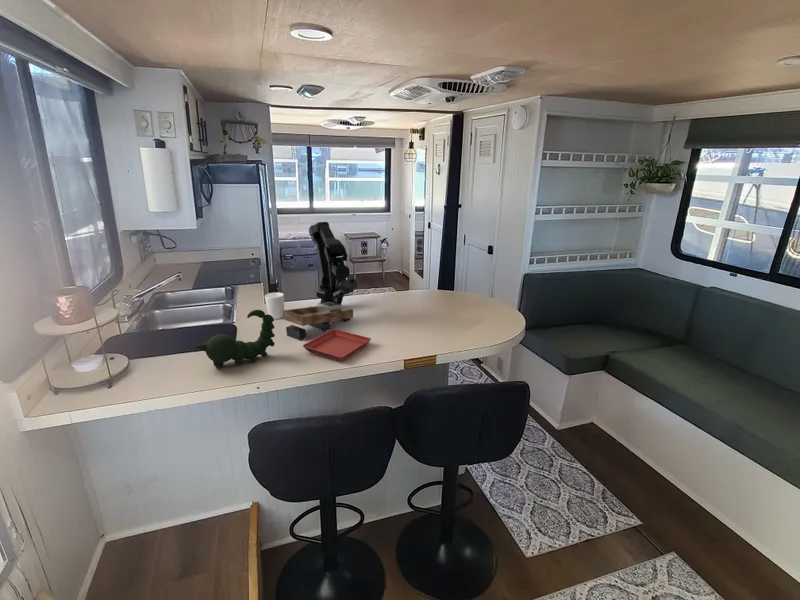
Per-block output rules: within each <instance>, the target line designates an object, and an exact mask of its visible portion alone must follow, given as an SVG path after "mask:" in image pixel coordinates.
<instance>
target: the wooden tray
mask: <svg viewBox="0 0 800 600" xmlns="http://www.w3.org/2000/svg"><path fill="white" fill-rule="evenodd" d="M317 307H318V305H317V306H316V305H315V306H307V307H299V308H293V309H292V308H291V309H284V310H283V318H282V320H284V321H286V322H290V323H292V324H295V325H299V326H302V327H304V326H309V325H311V324H317V323H323V322H327V323H332V322H335V321H340V320H342V319H348V318H350V319H354V309H353V308H351V309H344V310H342V309H341V311H335V312H327V313H317Z"/></svg>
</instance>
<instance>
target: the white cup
mask: <svg viewBox="0 0 800 600" xmlns="http://www.w3.org/2000/svg"><path fill="white" fill-rule="evenodd" d="M264 300H265V307H266V311H267V314H269V315H271V316H272V317H273V318H274V320H280V319H283V310H285V295H284V293H282V292H269V293H266V294H265V295H264Z"/></svg>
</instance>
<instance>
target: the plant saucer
mask: <svg viewBox="0 0 800 600" xmlns="http://www.w3.org/2000/svg"><path fill="white" fill-rule="evenodd" d="M371 340H372V338H370V337H367V336H363V335H360V334H356V333H352V332H347V331H343V330H341V329H340V330H339V329H335V328H333V329H330V330H328V331H326V332H325V333H323V334H322V335H319V336H318V337H315V338H314V339H312V340H310V341H308V342H306V343H304V344H303V345H302V347H303V348H304V349H305V350H306V351H308V352H309V353H310V352H311V354H313V353H314V354H315V355H317V354H318V356H320V355H321V356H320V357H324V356H325V358H327V357H328V359H331V360H334V359H335V360H334V361H337V360H338V362H343V361H344V360H346V359H348V358H349V357H351V356H352V355H354V354H355V353H357V352H358V351H360V350H362V349H363V348H364V347H366V346H367V345H368V344H369V343H370V342H371ZM347 357H348V358H347Z"/></svg>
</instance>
